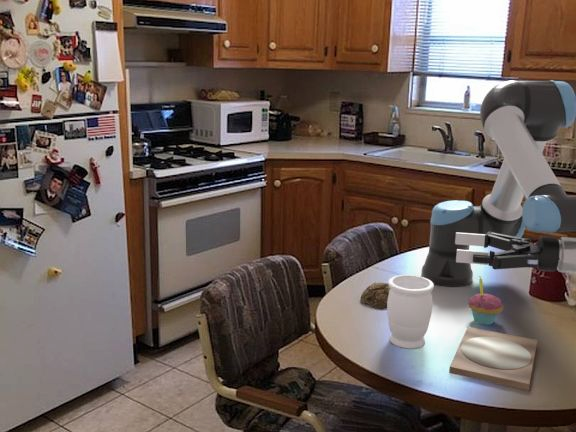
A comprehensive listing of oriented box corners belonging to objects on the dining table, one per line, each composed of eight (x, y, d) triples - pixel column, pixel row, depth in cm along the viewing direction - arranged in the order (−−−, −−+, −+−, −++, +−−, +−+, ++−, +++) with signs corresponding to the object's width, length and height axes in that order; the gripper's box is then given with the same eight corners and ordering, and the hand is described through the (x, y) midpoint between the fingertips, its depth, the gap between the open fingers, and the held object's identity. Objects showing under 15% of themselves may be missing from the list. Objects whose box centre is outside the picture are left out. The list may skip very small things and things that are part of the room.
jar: (429, 353, 140) (434, 292, 137) (384, 349, 142) (387, 288, 139) (429, 333, 150) (433, 275, 147) (386, 329, 152) (389, 272, 149)
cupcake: (465, 324, 156) (469, 280, 152) (467, 312, 163) (471, 269, 160) (501, 330, 153) (506, 284, 150) (502, 316, 160) (506, 273, 157)
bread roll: (375, 289, 179) (376, 273, 178) (414, 300, 172) (415, 283, 170) (351, 302, 170) (351, 285, 168) (390, 314, 162) (391, 296, 161)
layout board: (467, 332, 151) (467, 326, 151) (536, 345, 145) (537, 339, 144) (449, 372, 132) (449, 365, 132) (528, 390, 126) (529, 383, 125)
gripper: (565, 291, 122) (455, 281, 127) (546, 253, 146) (454, 246, 151) (570, 255, 121) (458, 246, 126) (550, 223, 144) (456, 216, 149)
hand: (455, 246), depth 138 cm, fingers open, 13 cm apart
